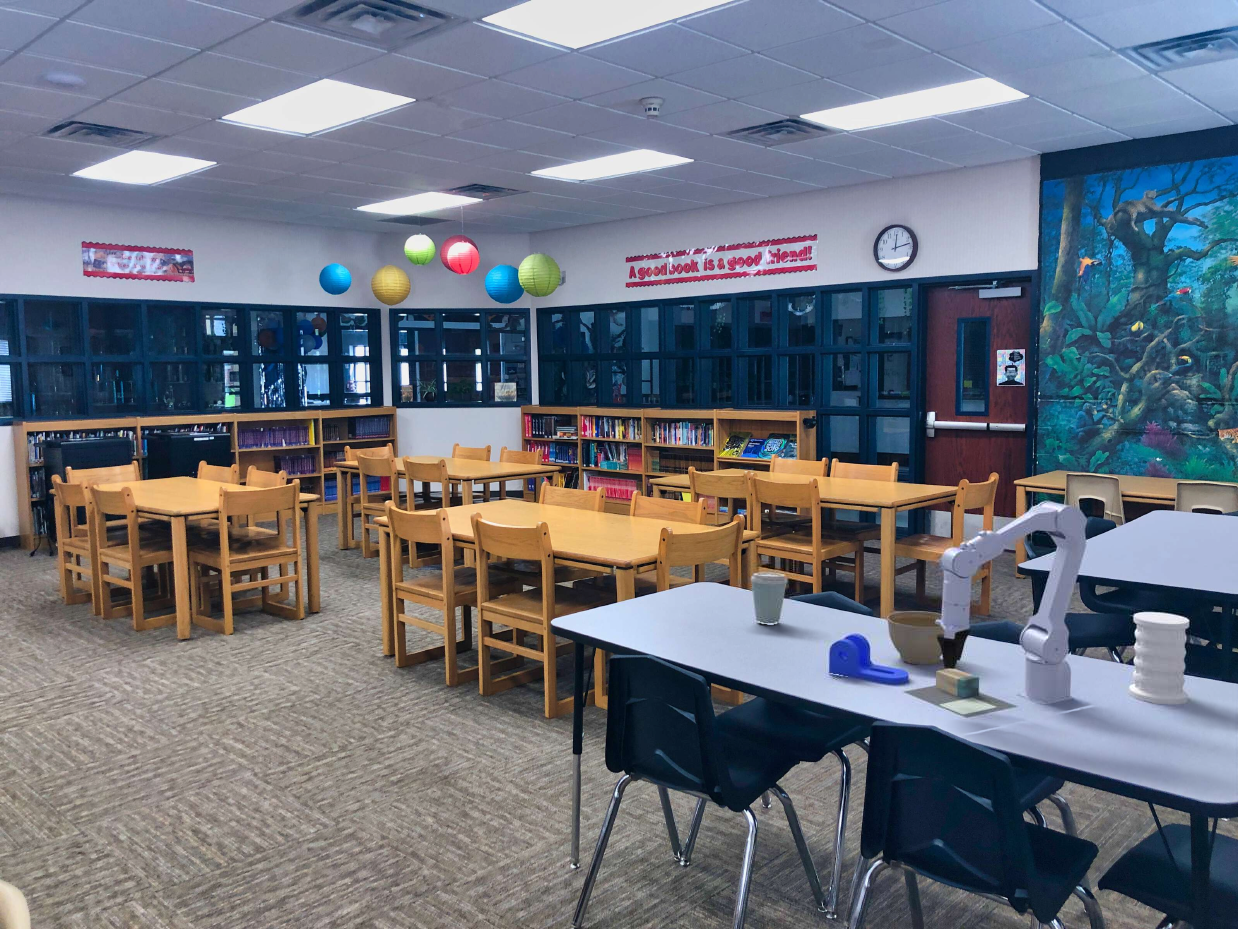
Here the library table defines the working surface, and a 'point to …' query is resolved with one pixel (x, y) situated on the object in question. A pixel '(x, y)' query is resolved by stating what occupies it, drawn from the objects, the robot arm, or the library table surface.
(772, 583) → the disposable coffee cup
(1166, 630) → the decorative container
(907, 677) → the bracket
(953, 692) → the birch block
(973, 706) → the rubber mat
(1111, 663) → the library table surface
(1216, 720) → the library table surface
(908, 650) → the planter bowl
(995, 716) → the library table surface
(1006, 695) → the library table surface
